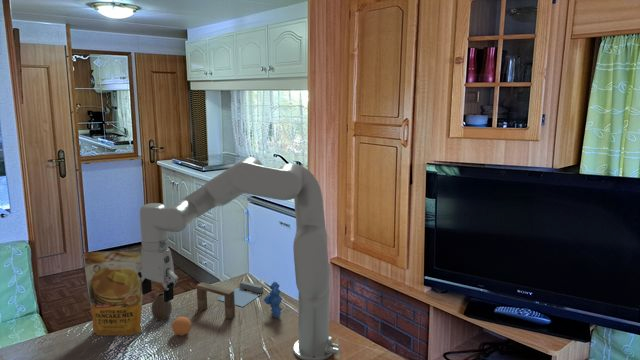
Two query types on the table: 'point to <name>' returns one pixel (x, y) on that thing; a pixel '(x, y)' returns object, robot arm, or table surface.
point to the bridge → (227, 293)
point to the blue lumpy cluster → (274, 299)
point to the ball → (181, 326)
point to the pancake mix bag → (114, 292)
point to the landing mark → (241, 297)
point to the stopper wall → (251, 286)
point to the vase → (161, 307)
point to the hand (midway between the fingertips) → (157, 296)
